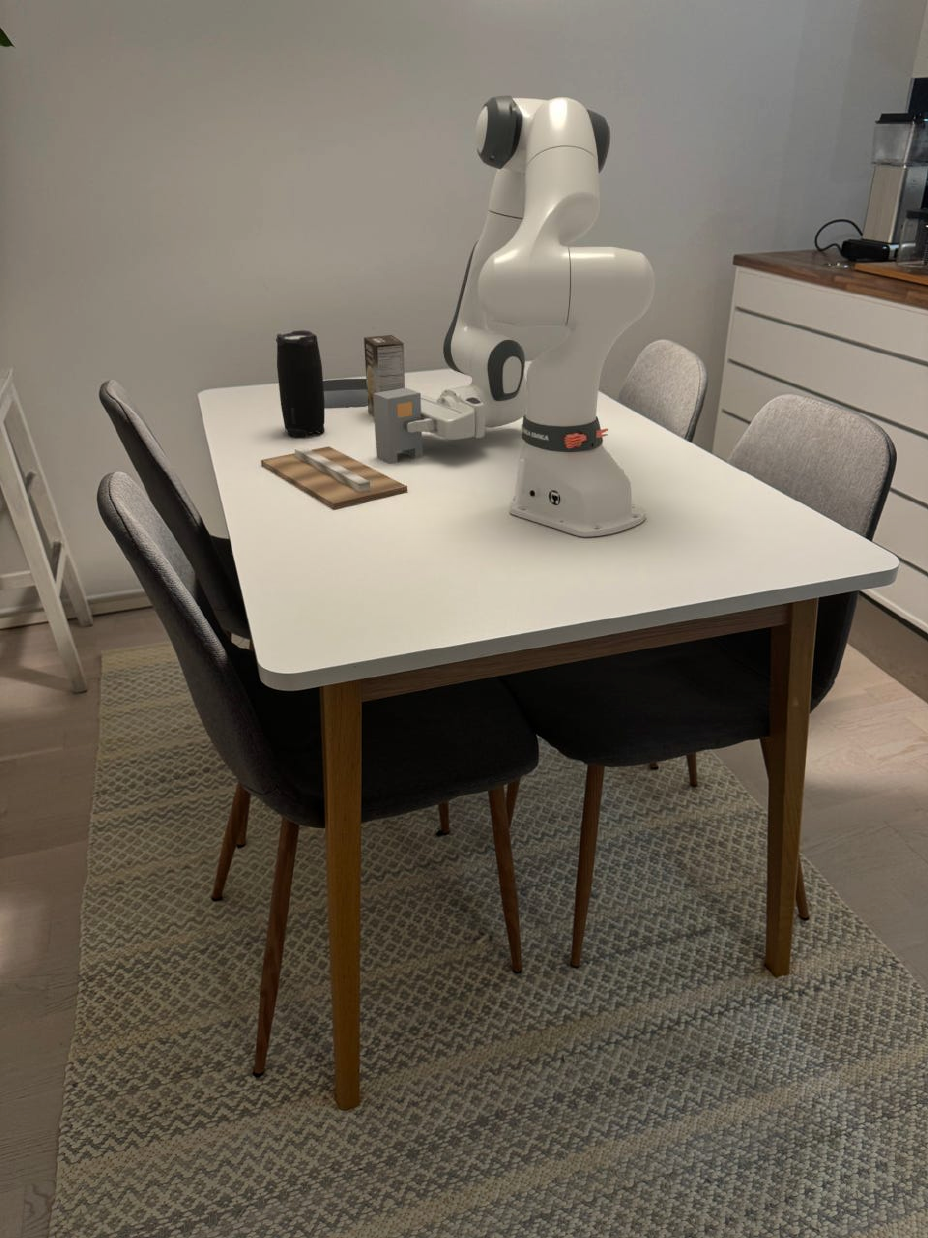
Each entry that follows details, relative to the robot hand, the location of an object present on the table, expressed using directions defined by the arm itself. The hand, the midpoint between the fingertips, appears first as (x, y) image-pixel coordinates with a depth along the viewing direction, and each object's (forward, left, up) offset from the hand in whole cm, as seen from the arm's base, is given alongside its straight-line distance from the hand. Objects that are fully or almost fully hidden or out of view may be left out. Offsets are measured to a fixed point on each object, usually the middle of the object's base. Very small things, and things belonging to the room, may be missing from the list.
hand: (396, 423), depth 169 cm
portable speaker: (+25, +7, -7) cm, 27 cm away
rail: (-3, +16, -7) cm, 17 cm away
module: (0, 0, -7) cm, 7 cm away
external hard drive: (+43, -13, -7) cm, 45 cm away
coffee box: (+26, -13, -7) cm, 30 cm away
